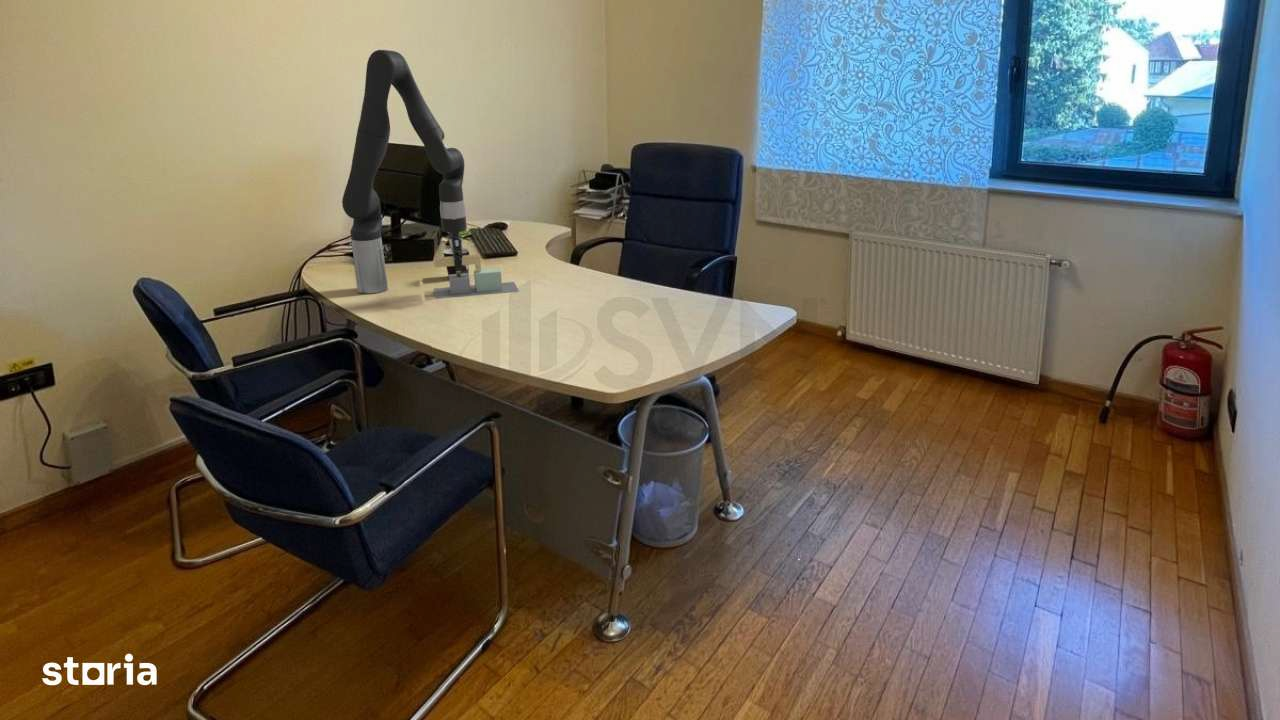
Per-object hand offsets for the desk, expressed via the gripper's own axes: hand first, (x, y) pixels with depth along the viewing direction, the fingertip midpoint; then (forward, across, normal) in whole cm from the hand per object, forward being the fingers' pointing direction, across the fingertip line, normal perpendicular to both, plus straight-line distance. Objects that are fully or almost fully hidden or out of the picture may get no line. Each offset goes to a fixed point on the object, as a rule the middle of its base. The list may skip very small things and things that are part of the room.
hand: (458, 267), depth 253 cm
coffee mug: (+9, -19, +2) cm, 21 cm away
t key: (+3, 0, 0) cm, 3 cm away
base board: (+9, 0, +5) cm, 10 cm away
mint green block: (+8, 0, +9) cm, 12 cm away
